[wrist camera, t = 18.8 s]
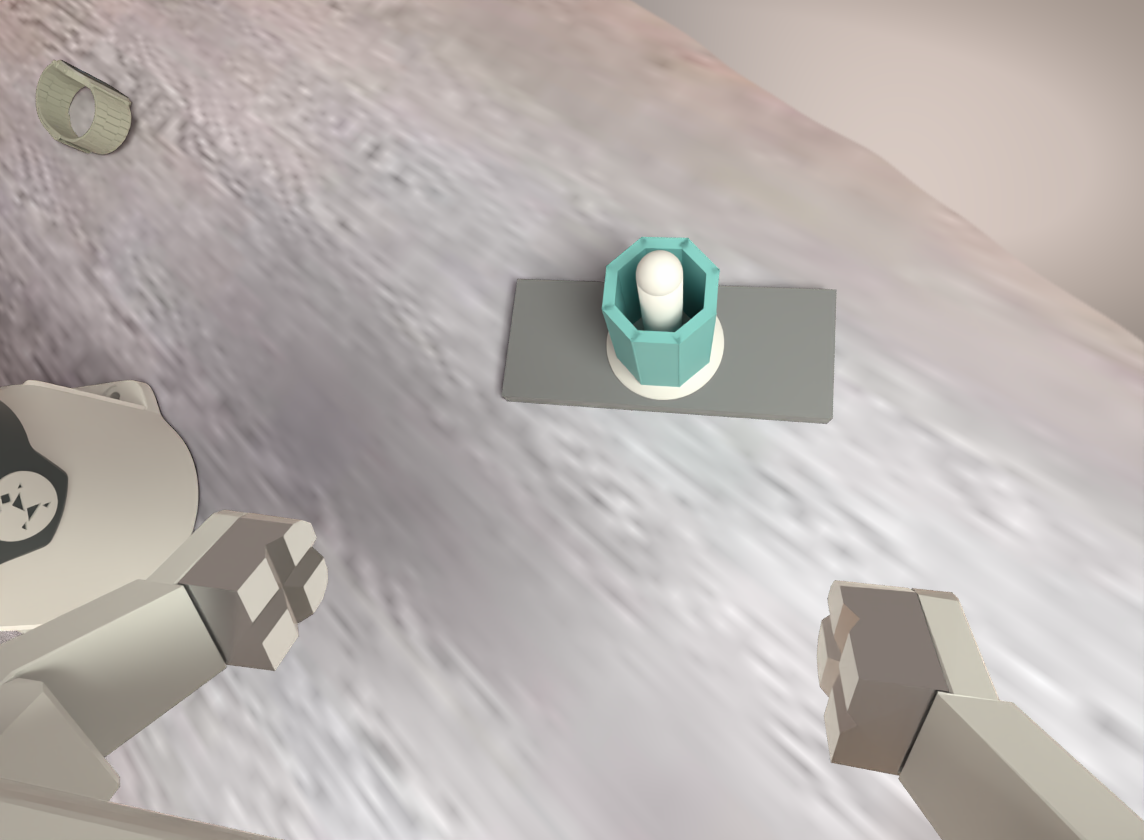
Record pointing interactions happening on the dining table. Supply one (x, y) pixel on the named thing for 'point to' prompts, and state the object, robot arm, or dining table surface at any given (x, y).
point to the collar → (657, 351)
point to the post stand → (740, 343)
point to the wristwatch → (55, 102)
